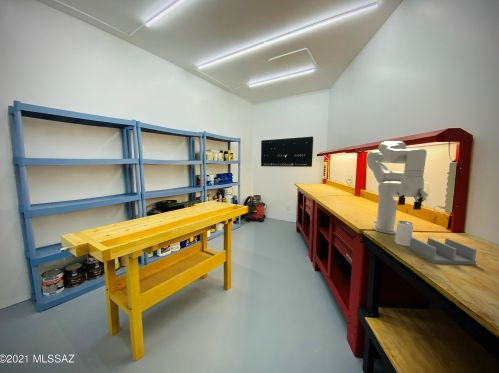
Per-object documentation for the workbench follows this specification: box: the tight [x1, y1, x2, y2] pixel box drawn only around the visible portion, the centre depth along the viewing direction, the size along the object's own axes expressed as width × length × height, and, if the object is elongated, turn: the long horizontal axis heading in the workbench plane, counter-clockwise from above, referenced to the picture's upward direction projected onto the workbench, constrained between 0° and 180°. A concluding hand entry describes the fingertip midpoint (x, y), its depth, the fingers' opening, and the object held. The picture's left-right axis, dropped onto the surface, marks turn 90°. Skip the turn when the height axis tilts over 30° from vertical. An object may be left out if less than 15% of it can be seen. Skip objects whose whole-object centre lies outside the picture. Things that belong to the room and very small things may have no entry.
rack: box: [407, 236, 478, 266], centre depth 86 cm, size 13×18×6 cm
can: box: [394, 220, 414, 248], centre depth 99 cm, size 6×6×12 cm
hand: (408, 207), depth 97 cm, fingers open, 9 cm apart
